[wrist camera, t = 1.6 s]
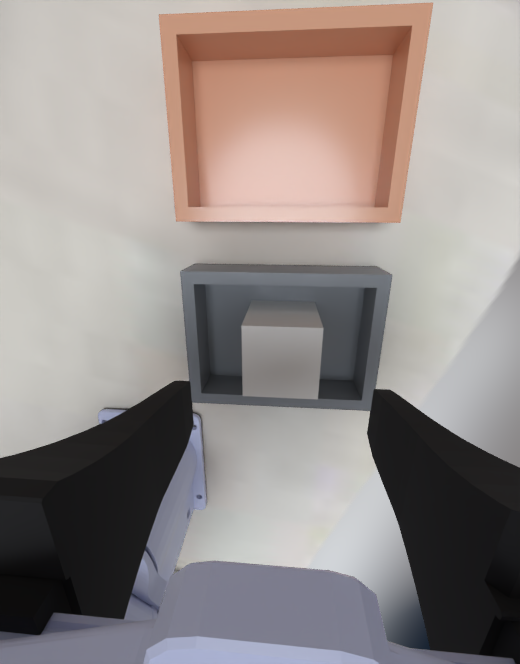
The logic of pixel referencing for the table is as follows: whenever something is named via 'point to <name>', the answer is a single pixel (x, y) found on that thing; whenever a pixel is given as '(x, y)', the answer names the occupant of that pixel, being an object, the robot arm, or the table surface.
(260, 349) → the stone block
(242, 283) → the charcoal bin
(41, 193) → the table surface
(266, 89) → the terracotta bin
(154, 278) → the table surface
